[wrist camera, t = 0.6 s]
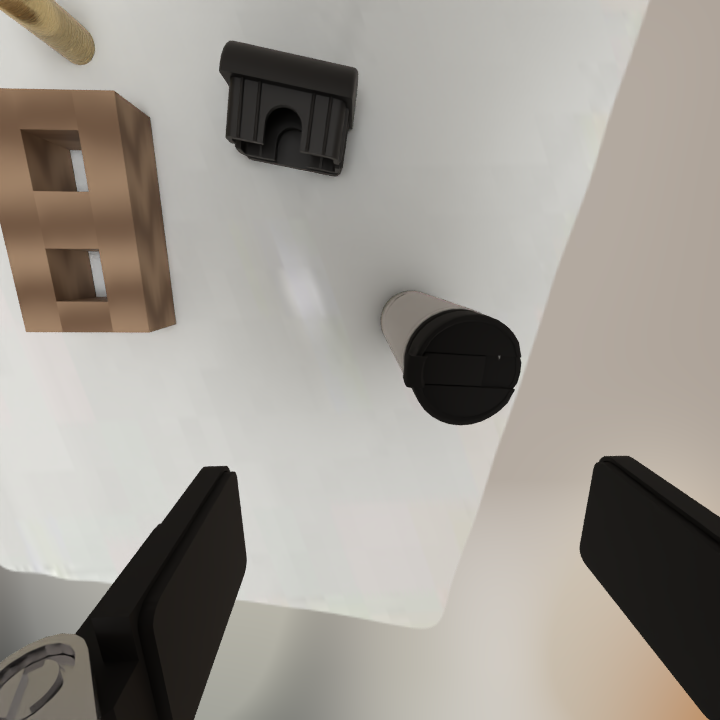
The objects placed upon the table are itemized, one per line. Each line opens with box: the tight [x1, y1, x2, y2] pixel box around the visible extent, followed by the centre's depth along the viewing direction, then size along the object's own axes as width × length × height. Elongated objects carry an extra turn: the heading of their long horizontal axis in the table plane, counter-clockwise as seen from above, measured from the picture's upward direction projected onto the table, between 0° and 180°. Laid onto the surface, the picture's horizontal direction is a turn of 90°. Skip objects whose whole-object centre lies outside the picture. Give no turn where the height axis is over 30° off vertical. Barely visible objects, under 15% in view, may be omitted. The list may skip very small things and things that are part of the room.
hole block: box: [0, 88, 176, 332], centre depth 32 cm, size 19×11×5 cm, turn 0°
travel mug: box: [381, 291, 521, 425], centre depth 28 cm, size 6×7×20 cm
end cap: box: [219, 41, 358, 176], centre depth 29 cm, size 10×7×7 cm
